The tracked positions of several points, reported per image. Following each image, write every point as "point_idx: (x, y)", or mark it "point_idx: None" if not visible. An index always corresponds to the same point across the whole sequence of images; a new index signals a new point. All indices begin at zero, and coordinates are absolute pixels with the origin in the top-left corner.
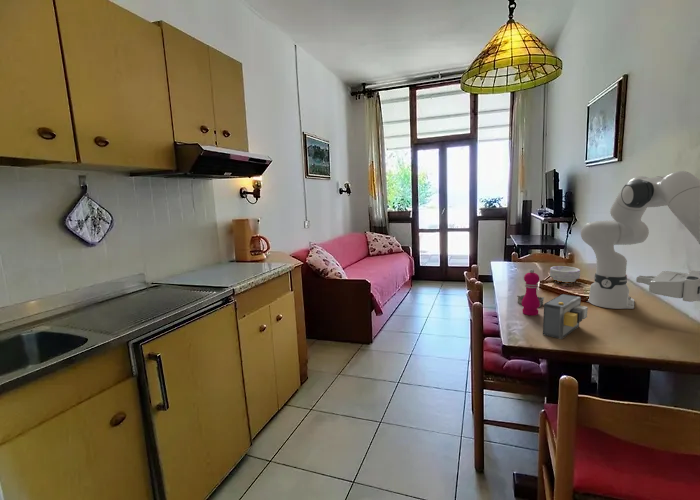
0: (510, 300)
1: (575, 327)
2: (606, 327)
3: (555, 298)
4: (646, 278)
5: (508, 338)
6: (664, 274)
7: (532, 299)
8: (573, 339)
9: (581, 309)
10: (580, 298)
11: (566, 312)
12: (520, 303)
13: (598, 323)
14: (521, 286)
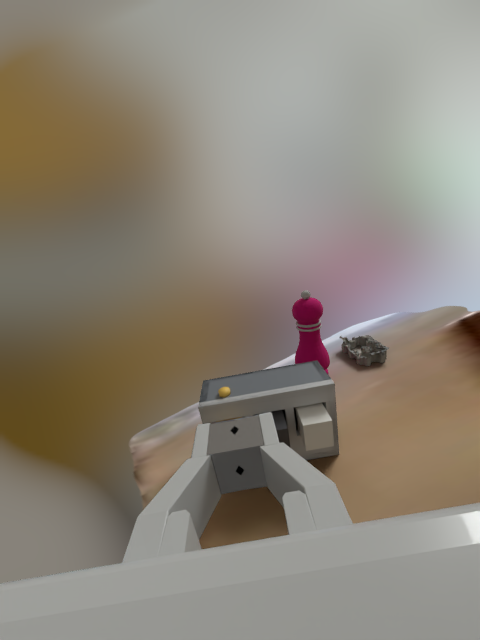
0: (341, 341)
1: (311, 455)
2: (418, 501)
3: (265, 370)
4: (164, 487)
5: (160, 423)
6: (441, 621)
7: (302, 354)
8: (236, 492)
9: (301, 422)
10: (332, 387)
11: (235, 418)
12: (343, 351)
13: (420, 470)
14: (424, 314)
